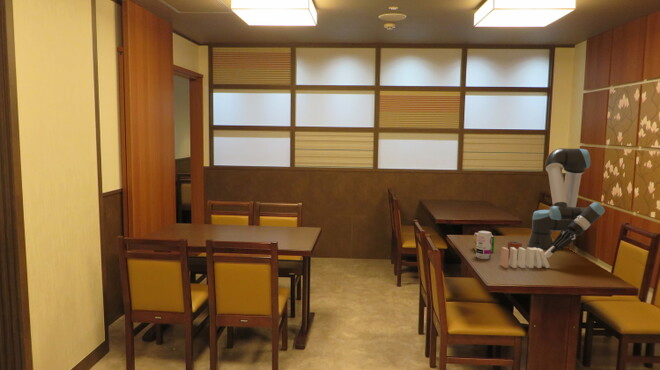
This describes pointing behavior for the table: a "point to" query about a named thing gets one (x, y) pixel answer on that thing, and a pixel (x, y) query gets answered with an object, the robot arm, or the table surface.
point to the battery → (515, 245)
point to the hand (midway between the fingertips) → (546, 255)
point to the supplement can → (484, 244)
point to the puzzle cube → (476, 242)
